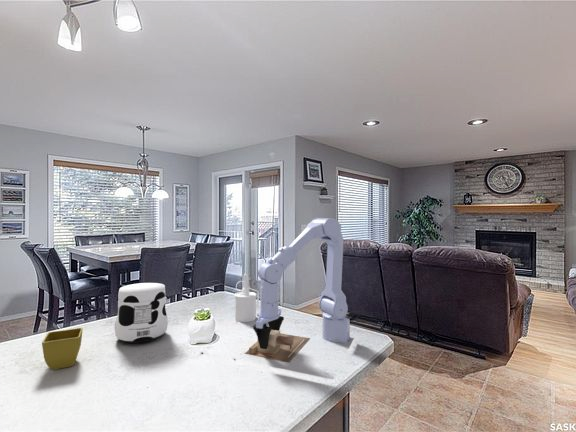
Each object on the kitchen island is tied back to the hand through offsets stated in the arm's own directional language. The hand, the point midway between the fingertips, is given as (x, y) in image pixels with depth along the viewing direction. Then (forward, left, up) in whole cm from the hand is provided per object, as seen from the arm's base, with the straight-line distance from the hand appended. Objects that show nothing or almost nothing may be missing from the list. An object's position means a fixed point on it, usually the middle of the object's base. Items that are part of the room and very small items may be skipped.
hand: (268, 343), depth 101 cm
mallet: (-2, 0, -2) cm, 3 cm away
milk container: (+48, +5, -4) cm, 48 cm away
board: (-1, -5, -4) cm, 6 cm away
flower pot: (+52, +30, -4) cm, 60 cm away
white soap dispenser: (+22, -25, -4) cm, 33 cm away
